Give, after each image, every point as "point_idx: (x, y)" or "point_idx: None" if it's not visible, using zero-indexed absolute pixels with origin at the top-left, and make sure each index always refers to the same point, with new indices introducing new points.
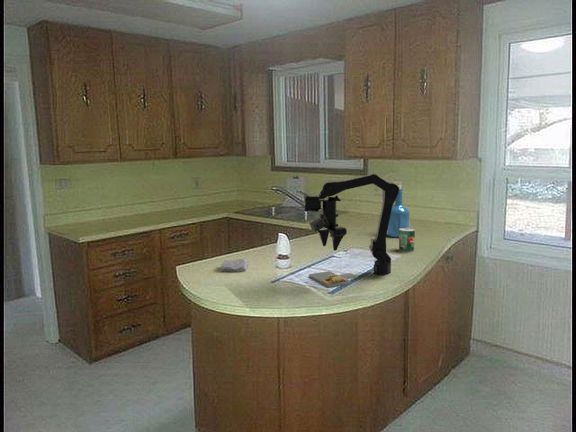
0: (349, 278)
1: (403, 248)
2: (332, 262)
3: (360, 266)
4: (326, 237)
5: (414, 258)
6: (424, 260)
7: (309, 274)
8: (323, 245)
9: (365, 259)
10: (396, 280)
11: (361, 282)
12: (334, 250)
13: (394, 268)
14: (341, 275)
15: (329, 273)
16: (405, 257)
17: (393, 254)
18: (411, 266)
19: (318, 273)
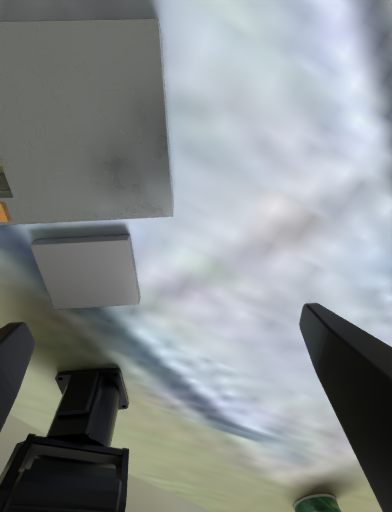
0: (39, 262)
1: (312, 508)
2: (370, 314)
3: (243, 374)
4: (371, 456)
5: (233, 492)
6: (202, 499)
7: (148, 22)
8: (307, 308)
9: (312, 414)
10: (16, 397)
11: (7, 291)
12: (14, 325)
13: (163, 436)
14: (108, 251)
15: (121, 191)
16: (255, 484)
17: (302, 476)
18: (162, 468)
19: (148, 116)
